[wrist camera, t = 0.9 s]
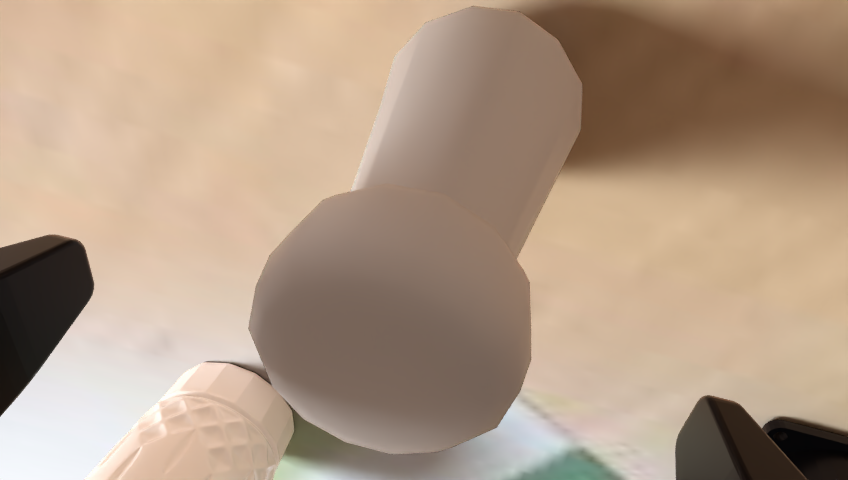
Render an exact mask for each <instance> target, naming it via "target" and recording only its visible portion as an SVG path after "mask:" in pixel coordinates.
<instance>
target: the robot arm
mask: <svg viewBox="0 0 848 480" xmlns="http://www.w3.org/2000/svg"><path fill="white" fill-rule="evenodd" d="M93 290H94V280H93V277H92V273H91V269H90V265H89V261H88V258H87V254H86V250H85V247H84V246H83V244H82V243H81V242H80V241H78V240H76V239H72V238H68V237H64V236H60V235H46V236H43V237H39V238H35V239H31V240H28V241H24V242H20V243H17V244H13V245H9V246H5V247H2V248H0V416H1V415H2V414H3V413H4V412H5V411H6V410H7V408H8V407H9V406H10V405H11V404H12V403H13V402H14V400H15V399H16V398H17V397H18V396H19V395H20V393H21V392H22V391H23V390H24V389H25V387H26V386H27V385H28V384H29V383H30V381H31V380H32V379H33V377H34V376H35V375H36V373H37V372H38V371H39V369H40V368H41V367H42V365H43V364H44V363H45V361H46V360H47V358H48V357H49V356H50V354H51V353H52V351H53V350H54V349H55V347H56V346H57V344H58V343H59V342H60V340H61V339H62V338H63V336H64V335H65V333H66V332H67V331H68V329H69V328H70V326H71V325H72V324H73V322H74V321H75V320H76V318H77V317H78V315H79V314H80V313H81V311H82V310H83V308H84V307H85V306H86V304H87V303H88V301H89V300H90V298H91V296H92V294H93ZM777 432H779V433H777ZM675 459H676V480H848V437H845V436H841V435H837V434H833V433H830V432H826V431H822V430H818V429H814V428H810V427H807V426H803V425H799V424H795V423H791V422H788V421H784V420H772V421H770V422H768V423H766V424H765V425H764V427H763V428H761V427H760V426H759V425H758V424H757V423H756V422H755V420H754V419H753V418H752V417H751V416H750V415H749V414H748V413H747V412H746V410H745V409H744V408H743V407H742V406H741V405H740V404H738V403H736V402H734V401H731V400H727V399H723V398H719V397H715V396H710V395H707V396H703V397H702V398H700V400H699V401H698V402H697V404H696V405H695V407H694V409H693V410H692V412H691V414H690V415H689V417H688V419H687V421H686V422H685V424H684V426H683V427H682V429H681V431H680V433H679V435H678V438H677V441H676V448H675Z"/></svg>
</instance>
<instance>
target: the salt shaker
mask: <svg viewBox="0 0 848 480" xmlns="http://www.w3.org/2000/svg"><path fill="white" fill-rule="evenodd" d="M582 86H583V84H582V83H581V81H580V79H579V77H578V75H577V73H576V72H575V70H574V68H573V66H572V64H571V62H570V60H569V59H568V57H567V55H566V53H565V51H564V49H563V47H562V46H561V44H560V42H559V41H558V39H556V38H555V37H554V36H552V35H551V34H550V33H548V32H547V31H546V30H544V29H543V28H541V27H540V26H539V25H537V24H536V23H535V22H533V21H532V20H531V19H529V18H528V17H526V16H525V15H524V14H522V13H521V12H518V11H510V10H502V9H493V8H485V7H477V6H471V7H469V8H466V9H463V10H460V11H457V12H454V13H451V14H448V15H446V16H443V17H440V18H437V19H434V20H431V21H428V22H426V23H424V25H423V26H422V27H421V28H420V29H419V30H418V31H417V32H416V33H415V34H414V35H413V37H412V38H411V39H410V40H409V41H408V42H407V43H406V44H405V45H404V46H403V48H402V49H401V50H400V51H399V52H398V53H397V54H396V55H395V56H394V60H393V63H392V67H391V70H390V74H389V77H388V80H387V84H386V87H385V91H384V94H383V98H382V101H381V104H380V108H379V111H378V113H377V116H376V119H375V122H374V125H373V128H372V131H371V134H370V137H369V140H368V142H367V145H366V148H365V151H364V154H363V157H362V160H361V163H360V166H359V169H358V171H357V174H356V177H355V180H354V183H353V186H352V189H351V192H347V193H342V194H338V195H334V196H332V197H329V198H327V199H324V200H322V201H321V202H320V203H319V204H318V205H317V206H316V207H315V208H314V209H313V210H312V211H311V212H310V213H309V214H308V215H307V216H306V217H305V218H304V219H303V220H302V221H301V222H300V223H299V225H298V226H297V227H296V228H295V229H294V230H293V231H292V232H291V233H290V234H289V235H288V236H287V237H286V238H285V239H284V240H283V241H282V242H281V243H280V245H279V246H278V247H277V248H276V249H275V250H274V251H273V252H272V253H271V255H270V256H269V258H268V260H267V263H266V265H265V267H264V269H263V271H262V274H261V276H260V278H259V280H258V282H257V285H256V288H255V294H254V299H253V305H252V311H251V316H250V322H249V327H248V329H249V331H250V334H251V336H252V338H253V341H254V343H255V346H256V348H257V350H258V353H259V355H260V358H261V360H262V362H263V365H264V367H265V370H266V372H267V374H268V377H269V379H270V381H271V384H272V386H273V388H274V389H275V390H276V391H277V392H278V393H279V394H280V395H281V396H282V397H283V398H284V399H285V400H286V401H287V402H288V403H289V404H290V405H291V406H292V407H293V409H294V410H295V411H296V412H297V413H298V414H299V415H300V416H301V417H302V418H303V419H304V420H306V421H308V422H310V423H312V424H313V425H315V426H317V427H319V428H321V429H322V430H324V431H326V432H328V433H330V434H331V435H333V436H335V437H337V438H339V439H340V440H342V441H344V442H346V443H350V444H354V445H358V446H361V447H365V448H369V449H373V450H377V451H381V452H384V453H388V454H392V455H393V454H413V453H432V452H439V451H442V450H445V449H448V448H451V447H454V446H456V445H458V444H461V443H463V442H465V441H467V440H470V439H472V438H474V437H476V436H479V435H481V434H483V433H485V432H488V431H490V430H492V429H494V428H497V426H498V425H499V423H500V422H501V420H502V418H503V417H504V415H505V414H506V412H507V411H508V409H509V408H510V406H511V404H512V403H513V401H514V400H515V398H516V397H517V395H518V394H519V392H520V390H521V387H522V384H523V381H524V379H525V376H526V373H527V370H528V367H529V364H530V362H531V312H530V282H529V280H528V278H527V276H526V274H525V272H524V270H523V269H522V267H521V266H520V264H519V263H518V261H517V260H516V259H517V257H518V255H519V253H520V251H521V249H522V247H523V245H524V243H525V241H526V239H527V237H528V235H529V233H530V231H531V229H532V227H533V225H534V223H535V221H536V219H537V217H538V215H539V213H540V211H541V209H542V207H543V205H544V203H545V201H546V199H547V197H548V195H549V193H550V191H551V189H552V187H553V185H554V183H555V181H556V179H557V177H558V175H559V173H560V171H561V169H562V167H563V165H564V163H565V161H566V159H567V157H568V155H569V153H570V151H571V149H572V147H573V145H574V143H575V141H576V139H577V137H578V135H579V133H580V131H581V114H582Z"/></svg>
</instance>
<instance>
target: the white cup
mask: <svg viewBox="0 0 848 480" xmlns="http://www.w3.org/2000/svg"><path fill="white" fill-rule="evenodd" d="M293 433H294V422H293V414H292V410H291V408H290V407H289V406H288V404H287V403H286V401H285V400H284V398H283V397H282V396H281V395H280V394H279V393H278V392H277V391H276V390H275V389H274V388H273V386H272V385H270V384H269V383H268V382H267V381H265V380H264V379H263V378H261V377H260V376H258V375H257V374H256V373H254V372H251V371H248V370H246V369H243V368H241V367H238V366H235V365H232V364H230V363H211V362H204V363H201V364H199V365H197V366H195V367H193V368H191V369H189V370H187V371H186V372H184V373H183V375H182V376H181V377H180V378H179V379H178V380H177V381H176V382H175V383H174V385H173V386H172V387H171V388H170V389H169V390H168V391H167V393H166V394H165V395H164V396H163V397H162V398H161V399H160V401H159V402H158V403H157V404H155V405H154V406H153V407H152V408H151V409H150V410H148V411H147V412H146V413H145V414H144V415H143V416H142V417H141V418H140V419H139V420H138V422H137V423H136V424H135V425H134V426H133V428H132V429H131V430H130V431H129V432H128V433H127V434H126V435H125V436H124V437H123V438H122V439H121V440H120V441H119V442H118V443H117V444H116V445H115V446H114V447H113V448H112V449H111V450H110V451H109V452H108V454H107V455H106V456H105V457H104V458H103V459H102V460H101V461H100V462H99V463H98V465H97V466H96V467H95V468H94V469H93V470H92V471H91V472H90V473H89V475H88V476H87V477H86V478H85V479H84V480H273V478H274V474H275V471H276V469H277V467H278V465H279V463H280V461H281V459H282V457H283V454H284V452H285V450H286V448H287V446H288V444H289V442H290V440H291V437H292V435H293Z"/></svg>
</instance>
